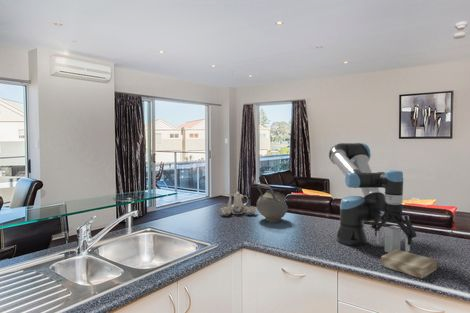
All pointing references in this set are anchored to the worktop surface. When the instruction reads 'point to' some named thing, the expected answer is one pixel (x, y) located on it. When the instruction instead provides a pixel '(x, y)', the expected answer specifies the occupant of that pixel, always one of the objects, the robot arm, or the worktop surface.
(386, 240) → the skincare box
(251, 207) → the chinaware
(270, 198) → the pot
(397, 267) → the base block
